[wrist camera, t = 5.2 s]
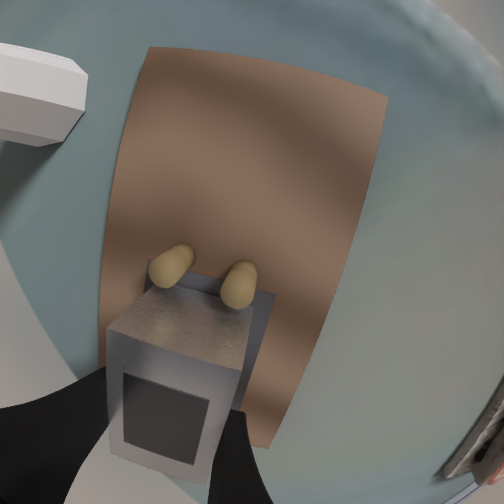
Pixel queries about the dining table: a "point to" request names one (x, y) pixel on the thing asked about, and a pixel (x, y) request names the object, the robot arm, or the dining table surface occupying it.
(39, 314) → the dining table surface
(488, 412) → the packaged product
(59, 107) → the salt shaker
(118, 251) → the walnut tray
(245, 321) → the block
